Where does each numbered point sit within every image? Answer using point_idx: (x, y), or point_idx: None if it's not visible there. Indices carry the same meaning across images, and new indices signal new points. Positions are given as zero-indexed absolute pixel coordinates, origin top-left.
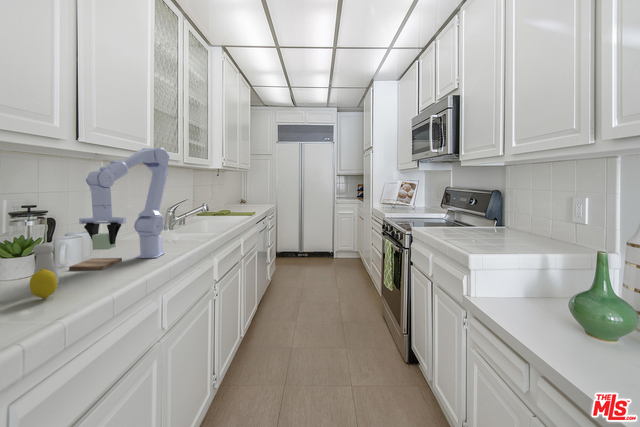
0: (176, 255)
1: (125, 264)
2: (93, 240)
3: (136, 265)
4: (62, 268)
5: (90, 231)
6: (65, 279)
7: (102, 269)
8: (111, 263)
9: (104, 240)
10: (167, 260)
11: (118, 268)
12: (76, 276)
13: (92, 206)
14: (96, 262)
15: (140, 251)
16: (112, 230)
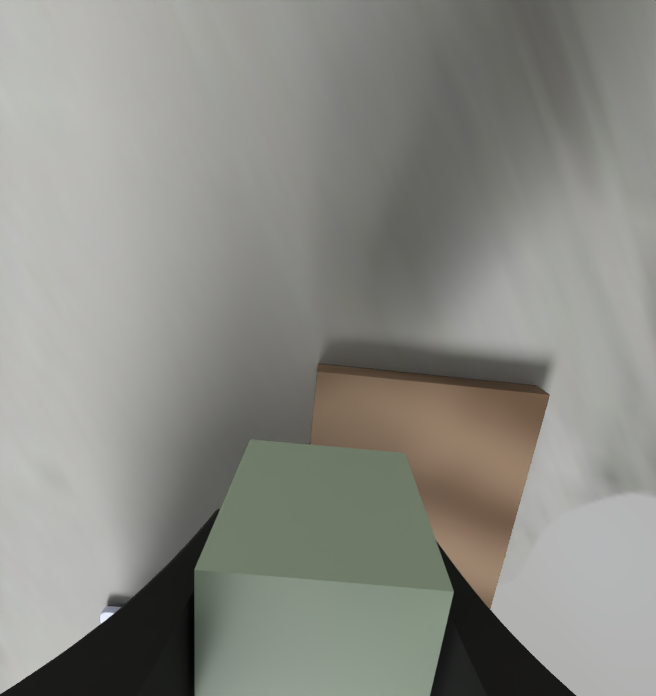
0: (16, 651)
1: None
2: (414, 523)
3: (145, 441)
4: (599, 448)
5: (515, 690)
6: (463, 123)
7: (321, 365)
8: None
9: (265, 508)
10: (4, 537)
11: (228, 381)
12: (421, 201)
13: None
14: None
15: None
16: (62, 667)
